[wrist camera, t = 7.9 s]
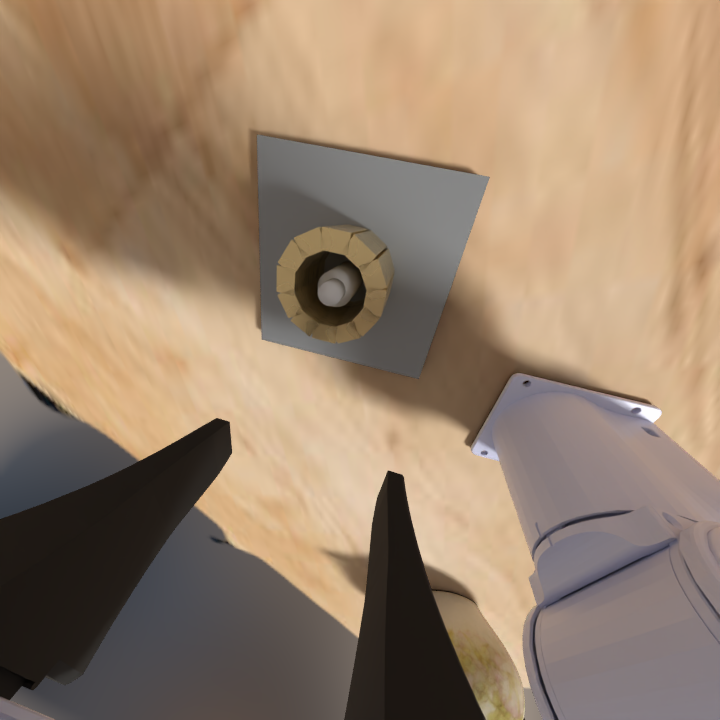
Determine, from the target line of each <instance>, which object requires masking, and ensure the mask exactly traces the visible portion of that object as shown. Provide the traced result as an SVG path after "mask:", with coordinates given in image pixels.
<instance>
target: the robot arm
mask: <svg viewBox="0 0 720 720" xmlns="http://www.w3.org/2000/svg"><path fill="white" fill-rule="evenodd" d="M524 381H529V382H528V383H526V384H523V382H524ZM633 408H635V409H633ZM632 409H633V410H632ZM661 414H662V411H661V410H660V409H659V408H658V407H656V406H654V405H650V404H646V403H642V402H638V401H633V400H629V399H625V398H621V397H617V396H613V395H609V394H605V393H601V392H596V391H592V390H588V389H584V388H580V387H576V386H572V385H568V384H563V383H559V382H555V381H551V380H547V379H543V378H539V377H535V376H531V375H526V374H522V373H516V374H514V375H512V376H511V377H510V379H509V381H508V382H507V384H506V386H505V388H504V389H503V391H502V393H501V395H500V397H499V398H498V400H497V402H496V404H495V405H494V407H493V409H492V411H491V412H490V414H489V416H488V418H487V419H486V421H485V423H484V425H483V426H482V428H481V430H480V432H479V433H478V435H477V437H476V439H475V440H474V442H473V444H472V446H471V451H472V453H473V454H475V455H478V456H482V457H486V458H489V459H493V460H497V461H500V464H501V467H502V470H503V473H504V476H505V479H506V482H507V485H508V488H509V491H510V494H511V497H512V500H513V503H514V506H515V509H516V512H517V515H518V518H519V521H520V524H521V527H522V530H523V533H524V536H525V539H526V541H527V544H528V547H529V550H530V553H531V556H532V559H533V561H534V565H535V571H534V573H533V574H532V575H531V576H530V577H529V581H530V584H531V587H532V590H533V594H534V597H535V600H536V603H537V605H536V606H534V607H533V608H532V609H531V610H530V612H529V613H528V615H527V617H526V620H525V623H524V628H523V654H524V661H525V667H526V671H527V675H528V679H529V683H530V687H531V690H532V693H533V696H534V699H535V702H536V704H537V707H538V709H539V712H540V714H541V717H542V719H543V720H720V480H718V479H717V478H716V477H715V476H714V475H713V474H711V473H710V472H709V471H708V470H707V469H706V468H705V467H703V466H702V465H701V464H700V463H699V462H698V461H696V460H695V459H694V458H693V457H692V456H691V455H690V454H688V453H687V452H686V451H685V450H684V449H683V448H681V447H680V446H679V445H678V444H677V443H676V442H675V441H673V440H672V439H671V438H670V437H669V436H668V435H666V434H665V433H664V432H663V431H662V430H661V429H660V428H658V427H657V426H656V425H655V424H654V422H655V421H656V420H657V419H658V418H659V417H660V415H661ZM231 454H232V446H231V434H230V422H228V421H225V420H222V419H218V418H216V419H214V420H212V421H211V422H209V423H207V424H205V425H204V426H202V427H200V428H198V429H197V430H195V431H193V432H192V433H190V434H188V435H186V436H185V437H183V438H181V439H179V440H178V441H176V442H174V443H172V444H171V445H169V446H167V447H165V448H163V449H162V450H160V451H158V452H156V453H154V454H152V455H150V456H148V457H147V458H145V459H143V460H141V461H139V462H137V463H135V464H133V465H131V466H129V467H127V468H125V469H123V470H121V471H119V472H117V473H115V474H113V475H110V476H108V477H106V478H104V479H102V480H99V481H97V482H95V483H93V484H90V485H88V486H86V487H83V488H81V489H79V490H76V491H74V492H71V493H69V494H66V495H64V496H61V497H59V498H56V499H54V500H51V501H49V502H46V503H44V504H41V505H39V506H36V507H33V508H30V509H27V510H25V511H22V512H20V513H17V514H14V515H11V516H8V517H5V518H2V519H0V720H55V719H52V718H50V717H48V716H45V715H43V714H40V713H38V712H36V711H33V710H31V709H29V708H26V707H24V706H21V705H19V704H17V703H15V702H12V701H10V699H11V698H12V697H13V696H14V694H15V693H16V692H17V691H18V690H19V689H20V687H21V686H23V687H26V688H28V689H31V690H34V689H35V688H36V687H37V686H38V685H39V684H40V682H41V681H42V680H43V679H44V677H46V678H48V679H51V680H53V681H56V682H58V683H61V684H63V685H66V684H69V683H71V682H72V681H74V680H76V679H77V678H78V677H80V676H81V675H83V674H84V672H85V670H86V668H87V666H88V665H89V663H90V661H91V659H92V658H93V656H94V654H95V653H96V651H97V649H98V648H99V646H100V644H101V643H102V641H103V639H104V637H105V636H106V634H107V632H108V630H109V629H110V627H111V626H112V624H113V622H114V620H115V619H116V617H117V616H118V614H119V612H120V611H121V609H122V608H123V606H124V605H125V603H126V601H127V600H128V598H129V597H130V595H131V593H132V592H133V590H134V589H135V587H136V586H137V584H138V583H139V581H140V579H141V578H142V576H143V575H144V573H145V572H146V570H147V569H148V567H149V566H150V564H151V562H152V561H153V560H154V558H155V557H156V555H157V554H158V552H159V551H160V549H161V548H162V546H163V545H164V544H165V542H166V540H167V539H168V538H169V536H170V535H171V534H172V532H173V531H174V530H175V528H176V527H177V525H178V524H179V523H180V522H181V520H182V519H183V518H184V517H185V516H186V514H187V513H188V512H189V511H190V509H191V508H192V507H193V506H194V504H195V503H196V502H197V501H198V500H199V498H200V497H201V496H202V495H203V493H204V492H205V491H206V490H207V488H208V487H209V486H210V485H211V483H212V482H213V481H214V480H215V478H216V477H217V476H218V474H219V473H220V471H221V470H222V468H223V467H224V465H225V464H226V462H227V460H228V459H229V457H230V455H231ZM344 720H486V719H485V716H484V714H483V712H482V710H481V708H480V706H479V704H478V702H477V699H476V697H475V695H474V693H473V690H472V688H471V686H470V684H469V682H468V679H467V677H466V675H465V673H464V670H463V668H462V666H461V663H460V661H459V658H458V656H457V654H456V651H455V649H454V646H453V644H452V642H451V639H450V637H449V634H448V632H447V630H446V627H445V625H444V622H443V619H442V617H441V614H440V611H439V609H438V606H437V603H436V601H435V598H434V595H433V592H432V589H431V586H430V583H429V580H428V577H427V574H426V571H425V568H424V565H423V561H422V558H421V555H420V551H419V548H418V544H417V540H416V536H415V532H414V528H413V524H412V520H411V516H410V511H409V506H408V501H407V496H406V490H405V483H404V477H403V475H401V474H398V473H395V472H391V471H388V472H387V474H386V477H385V479H384V482H383V484H382V487H381V490H380V492H379V495H378V497H377V501H376V506H375V511H374V517H373V522H372V531H371V542H370V553H369V564H368V575H367V586H366V595H365V603H364V609H363V615H362V621H361V627H360V634H359V639H358V645H357V651H356V658H355V663H354V669H353V674H352V680H351V685H350V692H349V697H348V702H347V708H346V713H345V719H344Z"/></svg>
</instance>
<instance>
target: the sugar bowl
mask: <svg viewBox="0 0 720 720" xmlns="http://www.w3.org/2000/svg"><path fill="white" fill-rule="evenodd" d="M432 592H433V595H434V598H435V601H436V603H437V606H438V609H439V611H440V614H441V617H442V619H443V622H444V625H445V627H446V630H447V632H448V634H449V637H450V639H451V642H452V644H453V646H454V649H455V651H456V654H457V656H458V658H459V661H460V663H461V666H462V668H463V670H464V673H465V675H466V677H467V679H468V682H469V684H470V686H471V688H472V690H473V693H474V695H475V697H476V699H477V702H478V704H479V706H480V708H481V710H482V712H483V714H484V716H485V719H486V720H525V719H524V713H525V701H524V691H523V686H522V682H521V679H520V676H519V674H518V671H517V669H516V666H515V664H514V662H513V661H512V659H511V657H510V655H509V654H508V652H507V650H506V648H505V647H504V645H503V644H502V642H501V641H500V639H499V638H498V636H497V635H496V633H495V632H494V631H493V629H492V628H491V626H490V625H489V624H488V622H487V621H486V619H485V618H484V616H483V615H482V613H481V612H480V610H479V608H478V607H477V605H476V604H475V603H474V602H472V601H471V600H469V599H467V598H465V597H463V596H460V595H457V594H454V593H450V592H442V591H432Z"/></svg>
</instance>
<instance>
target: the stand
mask: <svg viewBox="0 0 720 720" xmlns="http://www.w3.org/2000/svg"><path fill="white" fill-rule="evenodd" d="M257 160H258V202H259V244H260V286H261V329H262V340H266V341H270V342H274V343H278V344H282V345H286V346H290V347H294V348H298V349H302V350H305V351H309V352H313V353H317V354H321V355H325V356H329V357H333V358H337V359H341V360H345V361H349V362H353V363H357V364H361V365H365V366H369V367H373V368H377V369H381V370H385V371H388V372H392V373H396V374H400V375H404V376H408V377H412V378H416V379H419V377H420V374H421V371H422V368H423V365H424V363H425V360H426V357H427V354H428V351H429V348H430V346H431V343H432V340H433V337H434V334H435V331H436V328H437V326H438V323H439V320H440V317H441V314H442V311H443V309H444V306H445V303H446V300H447V297H448V294H449V291H450V289H451V286H452V283H453V280H454V277H455V274H456V271H457V269H458V266H459V263H460V260H461V257H462V254H463V252H464V249H465V246H466V243H467V240H468V237H469V234H470V232H471V229H472V226H473V223H474V220H475V217H476V214H477V212H478V209H479V206H480V203H481V200H482V197H483V195H484V192H485V189H486V186H487V183H488V180H489V177H487V176H482V175H476V174H471V173H465V172H460V171H454V170H449V169H443V168H438V167H432V166H427V165H421V164H416V163H411V162H405V161H400V160H394V159H389V158H383V157H378V156H372V155H367V154H361V153H356V152H350V151H345V150H339V149H334V148H328V147H323V146H317V145H312V144H307V143H301V142H296V141H290V140H285V139H279V138H274V137H268V136H263V135H257ZM347 224H348V225H352V226H357V227H362V228H366V229H369V231H370V230H371V231H372V232H373V233H374V234H375V235H376V236H377V237H378V238H380V239H381V240H382V241H383V242H384V243H385V244H386V245H387V247H386V248H385V249H384V250H386V249H388V248H389V252H390V255H391V259H392V262H393V266H394V269H395V270H394V278H393V282H392V286H391V290H390V294H389V297H388V299H387V302H386V305H385V307H384V310H383V313H382V315H381V317H380V319H379V320H378V321H377V322H376V323H375V325H374V326H373V327H372V328H371V329H370V330H369V331H368V332H367V333H366V334H365V335H364V336H363V337H362V336H361V337H360V338H358V339H354V340H351V341H347V342H343V343H339V344H338V343H337V342H336V343H335V344H334V343H330V342H326V341H322V340H318V339H314V338H312V334H311V336H310V337H309V336H308V335H307V334H306V333H305V332H303V331H302V330H301V329H300V328H299V327H297V326H296V325H295V324H294V323H293V322H291V321H290V320H291V319H292V318H293V317H291V318H288V316H287V314H286V312H285V310H284V308H283V306H282V304H281V302H280V300H279V297H278V294H280V292H277V265H279V263H278V261H279V259H280V258H281V256H282V254H283V253H284V251H285V249H286V248H287V246H288V245H289V243H290V241H291V240H293V239H294V237H296V236H299V235H301V234H303V233H306V232H308V231H310V230H313V229H315V228H317V227H323V226H335V225H347ZM365 296H366V287H365V284H364V281H363V278H362V275H361V272H360V269H359V268H358V267H356V266H355V265H354V264H353V263H352V262H351V261H350V260H349V259H348V258H347V257H346V256H345V255H342V254H338V253H333V252H331V253H330V254H329V255H328V257H327V258H326V260H325V268H324V274H323V275H322V276H321V278H320V279H319V282H318V297H319V299H320V301H321V302H322V303H323V304H325V305H327V306H332V307H341V306H344V305H345V304H347V303H348V302H349V301H352V302H355V301H358V300H361V299H364V298H365Z"/></svg>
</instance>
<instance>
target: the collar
mask: <svg viewBox="0 0 720 720" xmlns="http://www.w3.org/2000/svg"><path fill="white" fill-rule="evenodd" d="M386 247H387V245H386V244H385V243H384V242H383V241H382V240H381V239H380V238H378V237H377V236H376V235H375V234H374V233H373V232H372V231H371V230H370V231H369V229H366V228H362V227H357V226H352V225H348V224H347V225H335V226H323V227H317V228H315V229H313V230H310V231H308V232H306V233H303V234H301V235H299V236H296V237H294V239H293V240H291V241H290V243H289V245H288V246H287V248H286V249H285V251H284V253H283V254H282V256H281V258H280V259H279V261H278V263H279V265H277V292H280V294H278V297H279V300H280V302H281V304H282V306H283V308H284V310H285V312H286V314H287V316H288V318H291V317H293V318H292V319H291V320H290V321H291V322H293V323H294V324H295V325H296V326H297V327H299V328H300V329H301V330H302V331H303V332H305V333H306V334H307V335H308V336H309V337H310V336H311V334H312V338H314V339H318V340H322V341H326V342H330V343H334V344H335V343H336V342H337V343H338V344H339V343H343V342H347V341H351V340H354V339H358V338H360V337H361V336H362V337H363V336H364V335H365V334H366V333H367V332H368V331H369V330H370V329H371V328H372V327H373V326H374V325H375V323H376V322H377V321H378V320H379V319H380V317H381V315H382V313H383V310H384V307H385V305H386V302H387V299H388V297H389V294H390V290H391V286H392V282H393V278H394V270H395V269H394V266H393V262H392V259H391V255H390V252H389V248H388V249H386V250H384V249H385V248H386ZM331 252H333V253H338V254H342V255H345V256H346V257H347V258H348V259H349V260H350V261H351V262H352V263H353V264H354V265H355V266H356V267H358V268H359V269H360V272H361V275H362V278H363V281H364V284H365V287H366V296H365V298H364V299H361V300H358V301H355V302H352V301H349V302H348V303H347V304H345V305H344V306H341V307H332V306H327V305H325V304H323V303H322V302H321V301H320V299H319V297H318V282H319V279H320V278H321V276H322V275H323V274H324V268H325V260H326V258H327V257H328V255H329V254H330V253H331Z"/></svg>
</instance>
